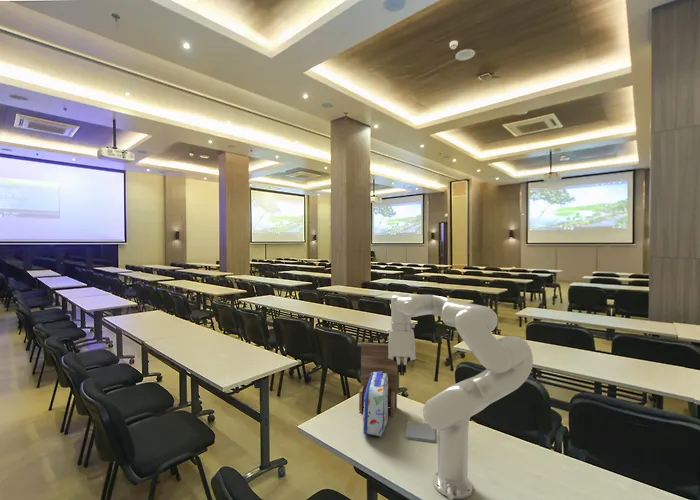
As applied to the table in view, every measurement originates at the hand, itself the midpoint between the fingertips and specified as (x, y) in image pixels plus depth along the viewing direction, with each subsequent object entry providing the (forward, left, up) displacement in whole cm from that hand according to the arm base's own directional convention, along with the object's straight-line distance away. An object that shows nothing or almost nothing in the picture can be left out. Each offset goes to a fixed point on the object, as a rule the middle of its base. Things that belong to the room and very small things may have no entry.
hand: (402, 374), depth 128 cm
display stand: (+32, +14, -31) cm, 47 cm away
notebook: (+16, -7, -31) cm, 36 cm away
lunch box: (+18, +13, -31) cm, 38 cm away
